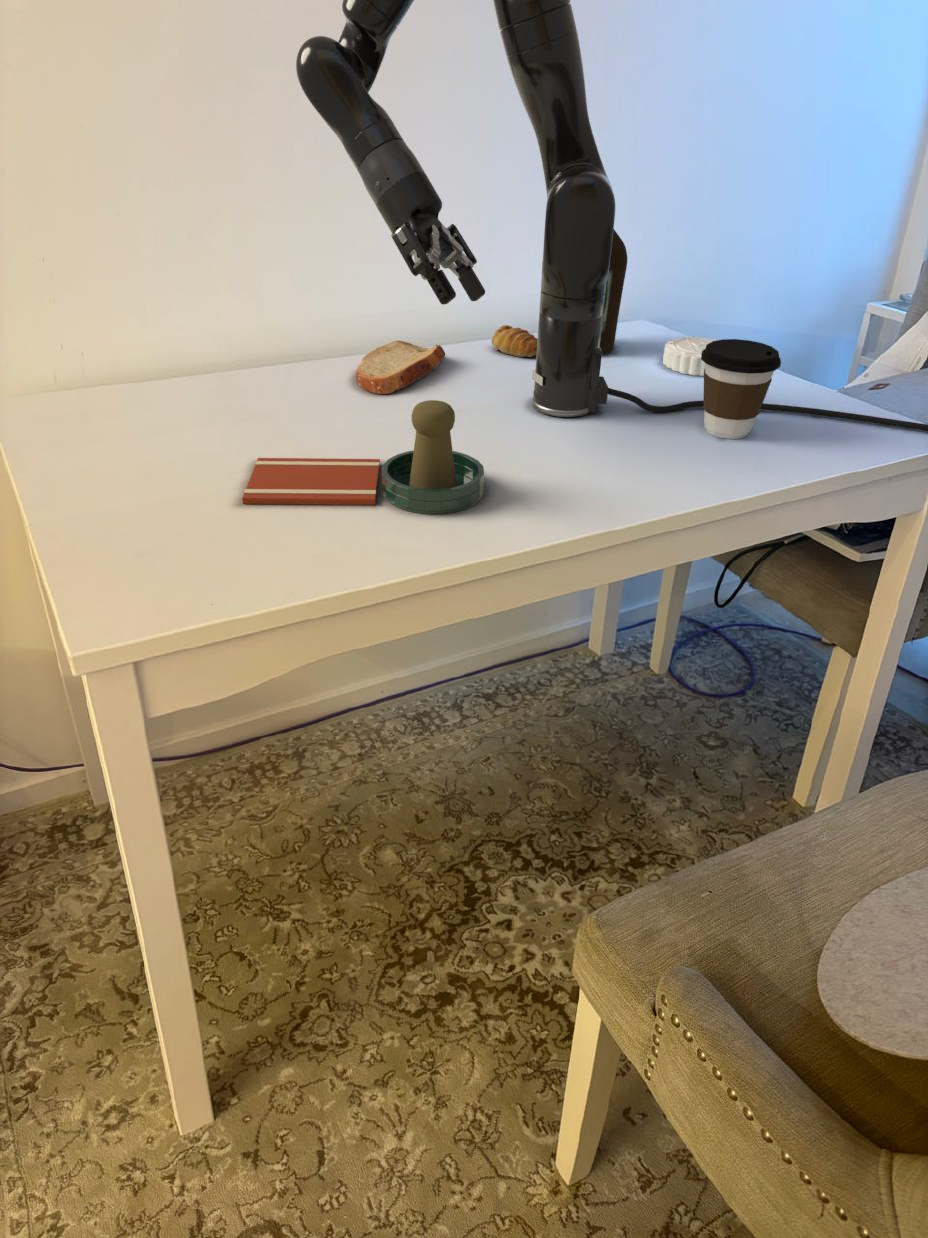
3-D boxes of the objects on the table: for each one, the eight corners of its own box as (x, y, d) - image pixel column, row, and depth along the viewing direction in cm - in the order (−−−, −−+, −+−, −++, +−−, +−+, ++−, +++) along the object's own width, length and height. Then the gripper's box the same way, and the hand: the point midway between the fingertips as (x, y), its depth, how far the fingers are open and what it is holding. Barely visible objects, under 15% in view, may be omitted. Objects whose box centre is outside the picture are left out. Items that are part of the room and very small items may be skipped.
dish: (480, 470, 120) (481, 449, 118) (485, 514, 109) (486, 491, 108) (384, 469, 119) (384, 448, 118) (380, 513, 109) (379, 490, 107)
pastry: (550, 354, 162) (552, 332, 160) (525, 362, 158) (526, 340, 156) (512, 341, 167) (513, 320, 165) (486, 349, 163) (487, 328, 161)
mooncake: (739, 377, 153) (744, 356, 151) (668, 375, 153) (671, 354, 151) (723, 355, 163) (727, 335, 161) (657, 353, 163) (660, 333, 161)
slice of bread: (368, 397, 142) (367, 373, 139) (335, 362, 155) (333, 340, 153) (473, 383, 148) (474, 361, 146) (432, 351, 161) (432, 330, 159)
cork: (408, 478, 116) (407, 394, 110) (455, 477, 117) (456, 394, 111) (409, 499, 111) (408, 413, 105) (458, 498, 112) (460, 412, 106)
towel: (380, 464, 121) (379, 458, 120) (375, 505, 111) (375, 498, 110) (258, 463, 120) (257, 456, 120) (242, 504, 110) (241, 497, 110)
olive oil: (565, 336, 171) (577, 191, 157) (621, 343, 168) (639, 195, 154) (552, 353, 162) (564, 200, 148) (611, 360, 160) (629, 205, 146)
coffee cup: (770, 425, 136) (788, 344, 129) (757, 451, 127) (776, 366, 121) (697, 412, 139) (711, 333, 133) (680, 436, 131) (694, 353, 124)
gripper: (391, 165, 109) (461, 283, 110) (446, 172, 121) (509, 280, 122) (350, 205, 113) (418, 319, 115) (407, 209, 125) (468, 312, 126)
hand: (465, 299), depth 118 cm, fingers open, 8 cm apart
